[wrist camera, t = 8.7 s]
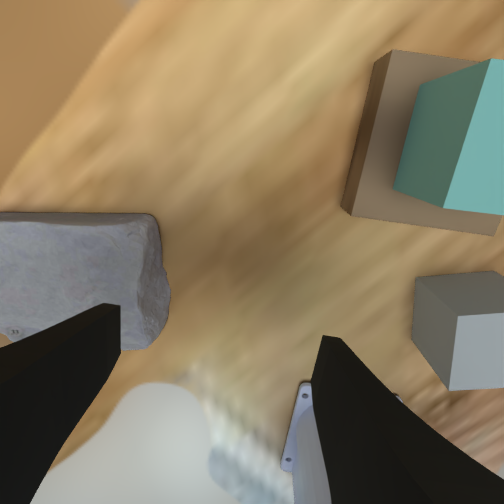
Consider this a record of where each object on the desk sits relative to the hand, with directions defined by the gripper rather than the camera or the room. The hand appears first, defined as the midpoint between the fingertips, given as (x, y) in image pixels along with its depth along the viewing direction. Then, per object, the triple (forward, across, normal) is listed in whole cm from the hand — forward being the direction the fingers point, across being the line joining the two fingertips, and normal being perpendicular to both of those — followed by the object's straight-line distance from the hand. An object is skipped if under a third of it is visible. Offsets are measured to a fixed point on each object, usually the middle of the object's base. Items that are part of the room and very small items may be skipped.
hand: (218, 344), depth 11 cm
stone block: (+11, +10, +4) cm, 16 cm away
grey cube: (+10, -15, +2) cm, 18 cm away
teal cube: (+8, -10, -8) cm, 15 cm away
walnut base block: (+11, -10, -8) cm, 17 cm away
